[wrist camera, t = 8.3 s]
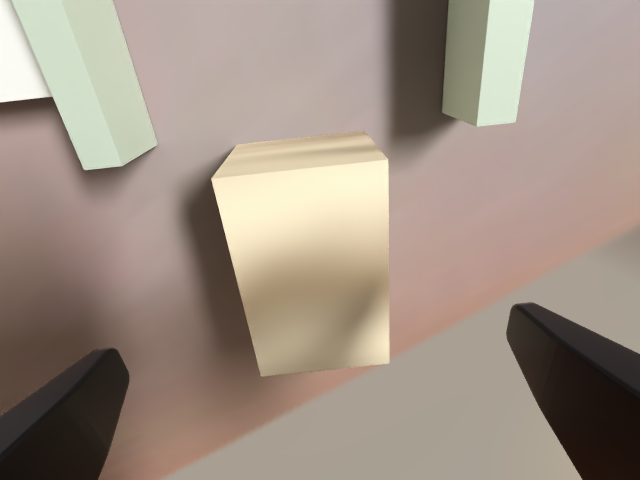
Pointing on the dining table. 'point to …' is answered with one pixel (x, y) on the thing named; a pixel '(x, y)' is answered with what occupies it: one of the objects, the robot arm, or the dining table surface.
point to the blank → (310, 249)
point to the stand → (18, 60)
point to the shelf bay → (130, 110)
